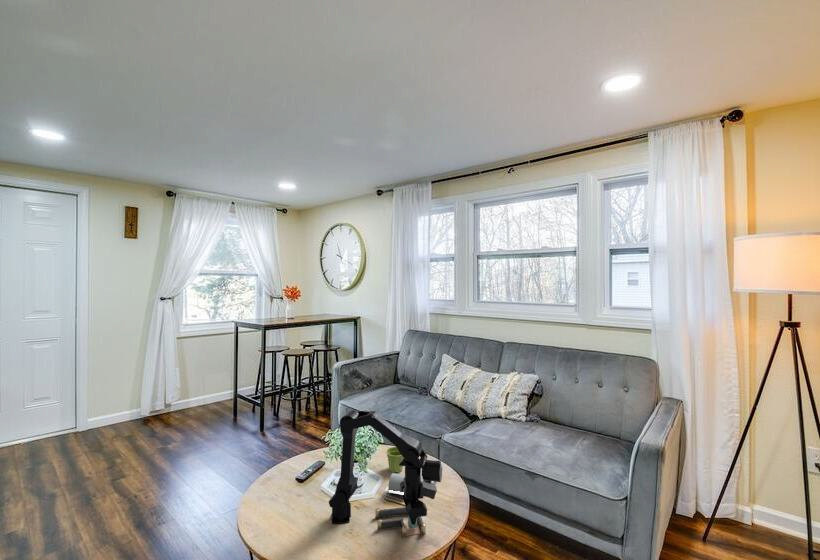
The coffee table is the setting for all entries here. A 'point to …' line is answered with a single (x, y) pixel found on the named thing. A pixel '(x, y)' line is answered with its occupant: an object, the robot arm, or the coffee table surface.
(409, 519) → the peg
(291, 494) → the coffee table surface
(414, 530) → the pad
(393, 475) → the ceramic mug
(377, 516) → the metal rail track
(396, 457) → the plant pot
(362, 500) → the coffee table surface
